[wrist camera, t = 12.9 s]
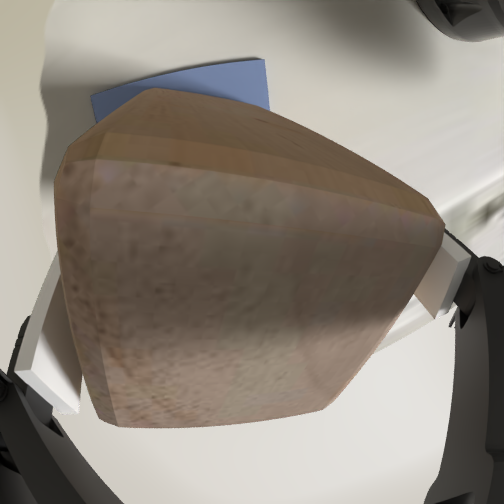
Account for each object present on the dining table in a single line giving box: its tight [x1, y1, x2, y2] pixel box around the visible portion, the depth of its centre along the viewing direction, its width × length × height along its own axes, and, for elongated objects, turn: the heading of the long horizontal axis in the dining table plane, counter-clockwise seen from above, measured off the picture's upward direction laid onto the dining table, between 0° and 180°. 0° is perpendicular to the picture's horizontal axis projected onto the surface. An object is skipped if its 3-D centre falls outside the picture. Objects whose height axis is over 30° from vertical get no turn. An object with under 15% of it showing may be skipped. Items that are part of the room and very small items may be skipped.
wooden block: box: [54, 88, 445, 428], centre depth 16 cm, size 10×10×20 cm
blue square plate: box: [91, 59, 270, 123], centre depth 24 cm, size 14×14×1 cm
